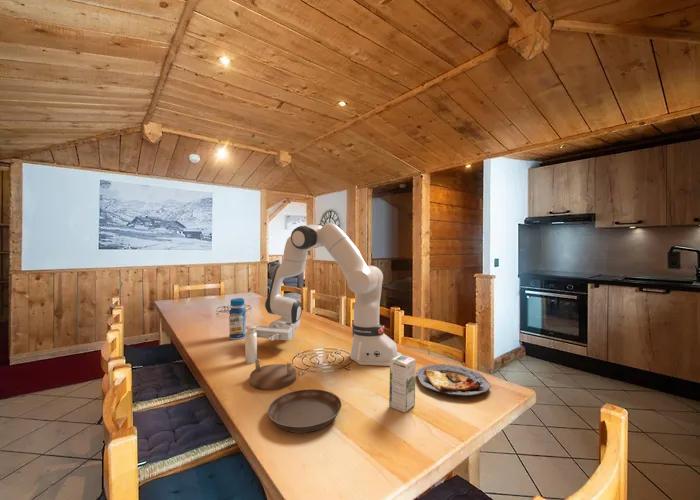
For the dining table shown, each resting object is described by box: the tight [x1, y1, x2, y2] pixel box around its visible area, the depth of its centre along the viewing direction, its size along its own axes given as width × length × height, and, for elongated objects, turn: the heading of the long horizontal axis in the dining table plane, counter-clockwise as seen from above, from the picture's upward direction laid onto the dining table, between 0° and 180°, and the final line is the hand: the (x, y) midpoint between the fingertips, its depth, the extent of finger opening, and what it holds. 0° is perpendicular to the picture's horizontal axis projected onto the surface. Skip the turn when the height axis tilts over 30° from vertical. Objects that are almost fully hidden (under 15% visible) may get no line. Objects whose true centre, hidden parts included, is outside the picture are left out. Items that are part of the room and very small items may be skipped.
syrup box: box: [388, 354, 417, 414], centre depth 94 cm, size 6×6×14 cm
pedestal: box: [249, 358, 297, 391], centre depth 112 cm, size 16×16×6 cm
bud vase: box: [244, 324, 258, 365], centre depth 129 cm, size 5×5×15 cm
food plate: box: [415, 363, 491, 397], centre depth 109 cm, size 25×23×4 cm
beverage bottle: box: [228, 297, 247, 341], centre depth 162 cm, size 8×8×20 cm
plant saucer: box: [267, 388, 343, 434], centre depth 89 cm, size 21×21×3 cm
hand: (261, 337), depth 136 cm, fingers open, 8 cm apart
